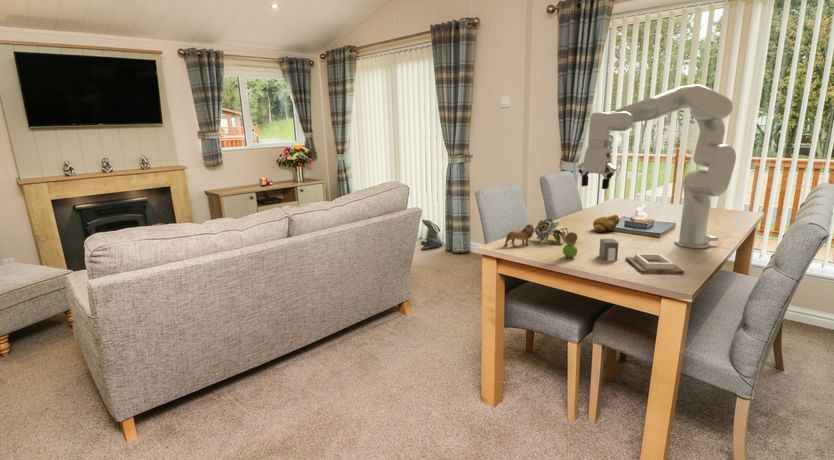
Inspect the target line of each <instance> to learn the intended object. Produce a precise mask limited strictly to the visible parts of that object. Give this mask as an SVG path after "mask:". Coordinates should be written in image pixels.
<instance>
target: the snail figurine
mask: <svg viewBox="0 0 834 460" xmlns="http://www.w3.org/2000/svg"><path fill="white" fill-rule="evenodd" d="M561 229H562V230H561V232H562V235H563V239H562V241H563V240H564V243H565V245H564V246H563V248H562V253H563V256H564V257H566V258H568V259H569V258H570V259H571V258H574V257H576V256H577V255H578V248H577V246H575V244H577V242H578V241H577V240H578V235H577V233H576V232H574V231H570V232H568V233H567V231H565V229H564V228H561Z"/></svg>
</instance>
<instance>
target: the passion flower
mask: <svg viewBox="0 0 834 460" xmlns="http://www.w3.org/2000/svg"><path fill="white" fill-rule="evenodd" d="M554 219H555V217H554V216H551V217H550V218H546V219H541V220H539V221H538V223H537V224H536V226H535V227H534V232H533V233H535V235H537V236H536V240H538V243H541V242H543V241H544V242H546V241H548V239H549V236H553V238H554V239H555V241H556V243H557V245H561V242H562V241H563V242H564V240H563V235H562V231H563V230H562V228H561V229H558V226H559V225H560V222H559V221H556V222H554ZM563 229H564V230H566V234H568V233H569V230H568V228H567V227H565V228H563ZM564 243H565V242H564Z"/></svg>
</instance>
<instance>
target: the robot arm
mask: <svg viewBox="0 0 834 460" xmlns="http://www.w3.org/2000/svg"><path fill="white" fill-rule="evenodd" d="M733 106H734V105H733V103H732V100H731V98H729V97H727V96H726V95H724V94H721V93H719V92H717V91H715V90H713V89H711V88H708V87H707V86H704V85H702V84H691V85H682V86H678V87H676V88H675V87H674V88H672V89H670V90H667V91H665V92H662V93H660V94H656V95H655V96H651V97H649V98H646V99H645V98H644V99H642V100H640V101H637V102H634V103H632V104H627V105H626V106H622V107H619V108H617V109H614V110H612V111H609V112H607V111H606V112H605V111H604V112H600V111H599V112H597V111H596V112H592V113H591V115H590V118H589V131H588V141H587V143H588V144H587V147H586V150H585V153H584V158H583V161H582V162H581V163H579V164H578V165H577V168H578V172H579V174H580V177H581V187H588V185H589V176H588V175H589V174H598V175H600V174H601V175H602V177H603V178H602V182H601V189H602V190H607V189H609V187H610V179H612V177H613V176H614V175H615V173H616V171H617V167H615V166H614V165H612V150H611V148H609V146H611V144H612V142H611V141H610V132H625V131H628V130H630V129H631V128H632V127H633V126H634V123H638V122H639V123H640V122H644V121H645V122H647V121H652V120H657V119H659V118H662V117H664V116H666V115H669V114H672V113H674V112H677V111H681V110H683V109H689V112H690V114H691V116H692V118H693V119H694V120H695V121H696V122H697V124H698V128H699V134H698V138H697V143H696V146H695V150H694V153H693V161H694V164H695V165H697V166H699V167H703V168H708V169H707V170H703V169H693V170H691V171H689V172H688V173H686V175H684V178H683V181H682V186H683V187H682V189H683V203H682V211H681V212H682V213H681V220H680V221H681V222H680V226H679V227H680V229H679V237H678V238H676V239H675V240H674V245H677V246H680V247H684V248H690V249H706V248H709V247H710V242H718V241H719V237H718V236H712V235H708V234H707V231H708V223H709V217H710V209H711V197H713V198H714V197H720V196H722V195H723V194H724V193H726V191H727V190H728V188H729V185H730V181H731V179H732V175H733V172H734V170H735V169H734V168H735V164H736V160H737V154H736V153H737V152H736V151H735V149H734V148H733V147H732V146H731V145H729V144H725V143H723V141H724V138H725V131H726V127H725V123H724V120H723V119H725V118H727V117H728V116H730V115H731V113H732V111H733Z"/></svg>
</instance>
